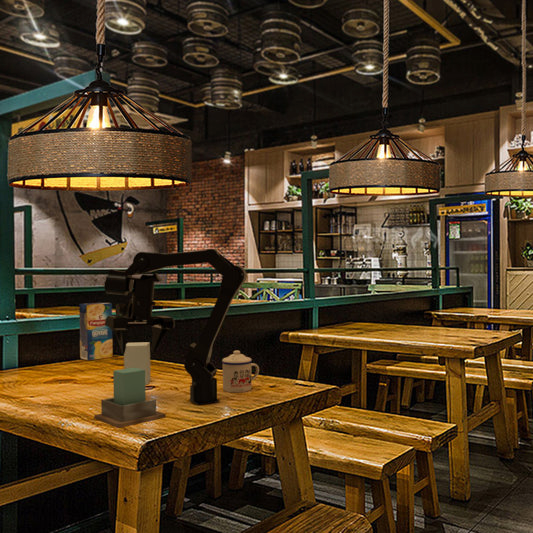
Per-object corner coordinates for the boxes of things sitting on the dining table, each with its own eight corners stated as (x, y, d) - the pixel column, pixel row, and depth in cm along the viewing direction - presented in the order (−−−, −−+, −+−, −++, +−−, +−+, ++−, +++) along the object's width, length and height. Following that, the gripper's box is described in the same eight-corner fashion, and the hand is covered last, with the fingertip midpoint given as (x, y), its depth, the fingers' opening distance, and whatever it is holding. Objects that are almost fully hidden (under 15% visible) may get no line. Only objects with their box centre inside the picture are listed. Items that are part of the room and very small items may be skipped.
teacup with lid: (230, 394, 172) (230, 354, 171) (217, 388, 179) (216, 350, 179) (266, 389, 178) (265, 350, 178) (251, 384, 185) (251, 346, 185)
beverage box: (112, 356, 242) (112, 303, 242) (87, 360, 235) (86, 304, 235) (104, 355, 247) (103, 302, 247) (79, 358, 240) (79, 304, 240)
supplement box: (151, 380, 193) (150, 341, 193) (147, 385, 186) (146, 345, 186) (128, 380, 193) (127, 342, 193) (123, 385, 186) (123, 345, 185)
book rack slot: (140, 408, 156) (139, 391, 156) (165, 417, 147) (165, 399, 147) (94, 418, 147) (94, 400, 147) (118, 427, 138) (118, 408, 138)
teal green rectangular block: (135, 410, 151) (134, 367, 151) (145, 414, 147) (145, 369, 147) (114, 414, 147) (113, 370, 147) (124, 418, 143) (123, 373, 143)
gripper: (157, 294, 176) (153, 346, 176) (98, 293, 164) (94, 349, 164) (177, 298, 168) (173, 353, 168) (116, 297, 155) (111, 356, 156)
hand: (138, 352), depth 164 cm, fingers open, 9 cm apart
